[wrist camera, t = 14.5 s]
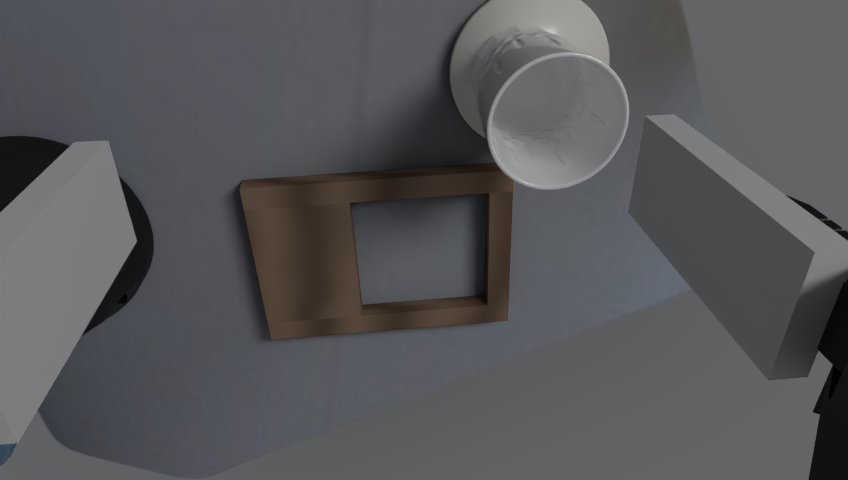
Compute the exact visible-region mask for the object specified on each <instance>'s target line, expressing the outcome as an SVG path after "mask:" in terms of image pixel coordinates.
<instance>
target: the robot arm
mask: <svg viewBox="0 0 848 480" xmlns="http://www.w3.org/2000/svg"><path fill="white" fill-rule="evenodd" d="M628 212H629V214H630V215H631V216H632V217H633V218H634V220H635V221H636V222H637V223H638V224H639V226H640V227H641V228H642V229H643V230H644V232H645V233H646V234H647V235H648V236H649V238H650V239H651V240H652V241H653V242H654V244H655V245H656V246H657V247H658V248H659V250H660V251H661V252H662V253H663V254H664V256H665V257H666V258H667V259H668V260H669V262H670V263H671V264H672V265H673V266H674V268H675V269H676V270H677V271H678V272H679V274H680V275H681V276H682V277H683V278H684V280H685V281H686V282H687V283H688V284H689V286H690V287H691V288H692V289H693V290H694V292H695V293H696V294H697V295H698V296H699V298H700V299H701V300H702V301H703V302H704V304H705V305H706V306H707V307H708V308H709V310H710V311H711V312H712V313H713V314H714V316H715V317H716V318H717V319H718V321H719V322H720V323H721V324H722V325H723V326H724V328H725V329H726V330H727V331H728V333H729V334H730V335H731V336H732V337H733V338H734V340H735V341H736V342H737V343H738V345H739V346H740V347H741V348H742V349H743V351H744V352H745V353H746V354H747V355H748V356H749V358H750V359H751V360H752V361H753V362H754V364H755V365H756V366H757V367H758V369H759V370H760V371H761V372H762V373H763V374H764V376H765V377H766V378H767V379H768V380H777V379H788V378H800V377H808V374H809V372H810V370H811V367H812V365H813V362H814V360H815V357H816V355H817V353H818V350H819V351H820V352H821V353H822V354H823V355H824V356H825V357H826V358H827V359H828V360H829V361H830V362H831V363H832V364H833V366H832V368H831V371H830V373H829V375H828V378H827V380H826V382H825V385H824V387H823V389H822V392H821V394H820V396H819V399H818V401H817V403H816V406H815V408H814V410H813V412H814V413H817V414H820V418H819V424H818V429H817V435H816V441H815V446H814V452H813V458H812V464H811V470H810V475H809V480H848V232H847V231H842V228H841V227H840V226H839V225H837V224H836V223H834V222H833V221H831V220H828V218H827V217H826V216H824V215H823V214H822V213H820V212H819V211H817V210H816V209H815V208H813V207H812V206H810V205H808V204H806V203H804V202H801V201H799V200H797V199H794V198H792V197H789V196H787V195H784V194H783V193H781V192H780V191H779V190H777V189H776V188H775V187H773V186H772V185H770V184H769V183H768V182H766V181H765V180H764V179H762V178H761V177H759V176H758V175H757V174H755V173H754V172H753V171H751V170H750V169H748V168H747V167H746V166H744V165H743V164H742V163H740V162H739V161H738V160H736V159H735V158H733V157H732V156H731V155H729V154H728V153H727V152H725V151H724V150H722V149H721V148H720V147H718V146H717V145H716V144H714V143H713V142H711V141H710V140H709V139H707V138H706V137H705V136H703V135H702V134H701V133H699V132H698V131H696V130H695V129H694V128H692V127H691V126H690V125H688V124H687V123H685V122H684V121H683V120H681V119H680V118H679V117H677V116H676V115H655V116H645V122H644V127H643V133H642V138H641V144H640V150H639V155H638V161H637V166H636V172H635V178H634V183H633V189H632V194H631V200H630V206H629V211H628ZM153 250H154V242H153V233H152V228H151V225H150V222H149V219H148V216H147V214H146V212H145V210H144V208H143V206H142V204H141V202H140V201H139V199H138V198H137V196H136V195H135V194H134V192H133V191H132V190H131V189H130V187H129V186H128V185H127V184H126V183H125V182H124V181H123V180H122V179H121V178H120V177H119V176H118V173H117V169H116V166H115V162H114V159H113V156H112V152H111V149H110V145H109V142H108V141H86V142H74V143H73V144H72V145H71V146H68V145H65V144H62V143H59V142H56V141H52V140H47V139H43V138H37V137H27V136H8V137H0V466H1V465H2V464H4V463H5V462H6V461H7V459H8V458H9V457H10V456H11V454H12V452H13V450H14V448H15V445H16V444H17V443H18V442H19V441H20V439H21V437H22V435H23V434H24V432H25V430H26V428H27V427H28V425H29V423H30V422H31V420H32V419H33V417H34V415H35V413H36V412H37V410H38V408H39V407H40V405H41V403H42V402H43V400H44V398H45V397H46V395H47V393H48V391H49V390H50V388H51V386H52V385H53V383H54V381H55V380H56V378H57V376H58V374H59V373H60V371H61V369H62V368H63V366H64V364H65V363H66V361H67V359H68V357H69V356H70V354H71V352H72V351H73V349H74V347H75V346H76V344H77V342H78V341H79V339H80V337H81V336H82V335H84V334H85V333H87V332H88V331H90V330H91V329H93V328H94V327H96V326H97V325H99V324H100V323H102V322H103V321H104V320H106V319H107V318H108V317H110V316H112V315H113V314H115V313H116V312H117V311H119V310H120V309H121V308H123V307H124V306H125V305H126V304H127V303H128V302H129V301H130V300H131V298H132V297H133V296H134V295H135V293H136V292H137V290H138V289H139V287H140V285H141V283H142V282H143V280H144V278H145V276H146V274H147V273H148V270H149V268H150V265H151V262H152V257H153Z"/></svg>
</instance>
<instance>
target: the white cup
mask: <svg viewBox="0 0 848 480" xmlns="http://www.w3.org/2000/svg"><path fill="white" fill-rule="evenodd" d="M471 77H472V84H473V90H474V97H475V103H476V107H477V110H478V114H479V118H480V122H481V125H482V128H483V131H484V134H485V137H486V140H487V143H488V146H489V149H490V152H491V155H492V157H493V159H494V161H495V162H496V164H497V165H498V167H499V168H500V169H501V170H502V171H503V172H504V173H505V174H506V175H507V176H508V177H509V178H511V179H512V180H514V181H515V182H517V183H519V184H521V185H524V186H526V187H530V188H534V189H540V190H556V189H563V188H567V187H571V186H574V185H576V184H579V183H581V182H583V181H585V180H587V179H589V178H590V177H592V176H593V175H595V174H596V173H597V172H599V171H600V170H601V169H602V168H603V167H604V166H605V165H606V164H607V163H608V162H609V161H610V160H611V159H612V157H613V156H614V155H615V153H616V152H617V150H618V149H619V147H620V145H621V143H622V141H623V139H624V136H625V133H626V130H627V126H628V120H629V103H628V97H627V94H626V91H625V88H624V86H623V84H622V82H621V80H620V79H619V77H618V76H617V74H616V73H615V72H614V71H613V70H612V69H611V68H610V67H609V66H608V65H606V64H605V63H604V62H602V61H600V60H599V59H597V58H595V57H594V56H592V55H591V54H589V53H587V52H586V51H584V50H583V49H581V48H579V47H578V46H576V45H575V44H573V43H571V42H570V41H568V40H566V39H564V38H562V37H560V36H559V35H556V34H553V33H550V32H548V31H546V30H544V29H543V28H541V27H539V26H533V25H514V26H512V27H510V28H507V29H505V30H503V31H501V32H499V33H497V34H495V35H493V36H492V37H491V38H490V39H489V41H488V42H487V43H486V44H485V45H484V46H483V48H482V49H481V50H480V51H479V52H478V54H477V57H476V60H475V64H474V67H473V71H472V74H471Z"/></svg>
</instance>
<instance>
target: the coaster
mask: <svg viewBox="0 0 848 480" xmlns="http://www.w3.org/2000/svg"><path fill="white" fill-rule="evenodd" d="M514 25H533V26H539V27H541V28H543V29H544V30H546V31H548V32H550V33H553V34H556V35H559V36H560V37H562V38H564V39H566V40H568V41H570V42H571V43H573V44H575V45H576V46H578V47H579V48H581V49H583V50H584V51H586V52H587V53H589V54H591V55H592V56H594V57H595V58H597V59H599V60H600V61H602V62H604V63H605V64H606V65H608V66H609V47H608V42H607V37H606V34H605V32H604V29H603V27H602V25H601V23H600V21H599V19H598V18H597V16H596V15H595V14H594V12H593V11H592V10H591V9H590V8H589V7H588V6H587V5H586V4H585V3H584V2H582V1H581V0H487V1H486V2H484V3H483V4H482V5H480V6H479V7H478V8H477V9H476V10H475V11H474V12H473V13H472V14H471V15H470V17H469V18H468V19H467V20H466V22H465V23H464V25H463V26H462V28H461V30H460V31H459V33H458V36H457V38H456V40H455V42H454V45H453V49H452V52H451V57H450V63H449V80H450V87H451V91H452V95H453V98H454V100H455V103H456V106H457V108H458V110H459V112H460V113H461V115H462V117H463V118H464V119H465V121H466V122H467V124H468V125H469V126H470V127H471V128H472V129H473V130H474V131H476V132H477V133H478V134H480V135H481V136H482V137H484V138H486V137H485V134H484V131H483V128H482V125H481V122H480V118H479V114H478V110H477V107H476V103H475V97H474V90H473V84H472V77H471V74H472V71H473V67H474V64H475V60H476V57H477V54H478V52H479V51H480V50H481V49H482V48H483V46H484V45H485V44H486V43H487V42H488V41H489V39H490V38H491V37H492V36H493V35H495V34H497V33H499V32H501V31H503V30H505V29H507V28H510V27H512V26H514Z"/></svg>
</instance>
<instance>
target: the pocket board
mask: <svg viewBox="0 0 848 480" xmlns="http://www.w3.org/2000/svg"><path fill="white" fill-rule="evenodd" d="M239 191H240V195H241V200H242V205H243V209H244V214H245V219H246V224H247V228H248V233H249V238H250V242H251V247H252V252H253V256H254V261H255V266H256V271H257V275H258V280H259V285H260V289H261V294H262V299H263V304H264V308H265V313H266V318H267V322H268V327H269V332H270V337H271V340H275V339H287V338H300V337H312V336H324V335H337V334H349V333H361V332H373V331H386V330H398V329H410V328H423V327H435V326H447V325H460V324H472V323H484V322H497V321H508V300H509V275H510V250H511V224H512V199H513V180H512V179H511V178H509V177H508V176H507V175H506V174H505V173H504V172H503V171H502V170H501V169H500V168H499V167H498V165H497V164H496V163H487V164H472V165H458V166H443V167H428V168H414V169H399V170H384V171H370V172H355V173H340V174H326V175H311V176H296V177H282V178H267V179H252V180H243V181H242V183H241V186H240V188H239ZM483 193H486V243H485V295H482V296H469V297H456V298H444V299H431V300H418V301H406V302H393V303H380V304H368V305H362V299H361V290H360V281H359V272H358V263H357V254H356V245H355V236H354V227H353V218H352V209H351V203H356V202H370V201H384V200H398V199H413V198H427V197H441V196H455V195H469V194H483Z"/></svg>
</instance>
